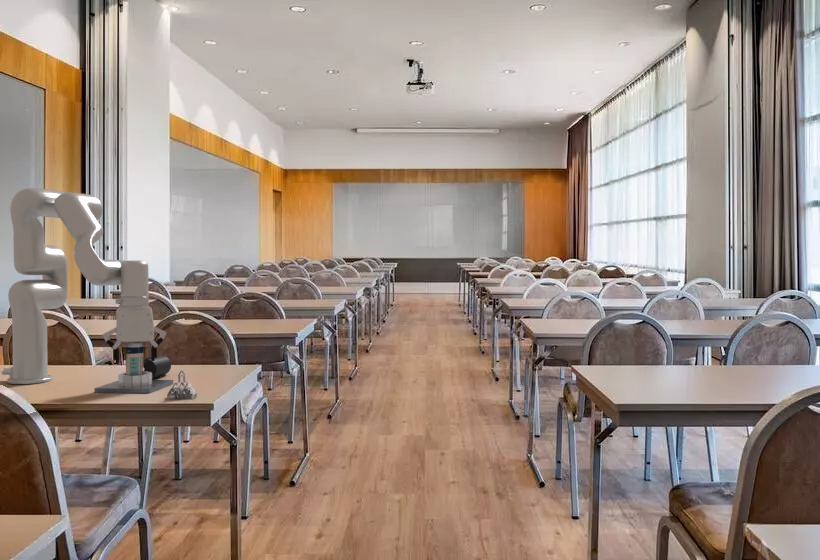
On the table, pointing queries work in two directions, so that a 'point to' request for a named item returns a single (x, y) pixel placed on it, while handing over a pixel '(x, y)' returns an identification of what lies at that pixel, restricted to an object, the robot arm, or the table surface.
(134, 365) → the beer can
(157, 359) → the end cap
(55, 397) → the table surface
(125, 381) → the grey square plate
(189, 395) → the house of cards
